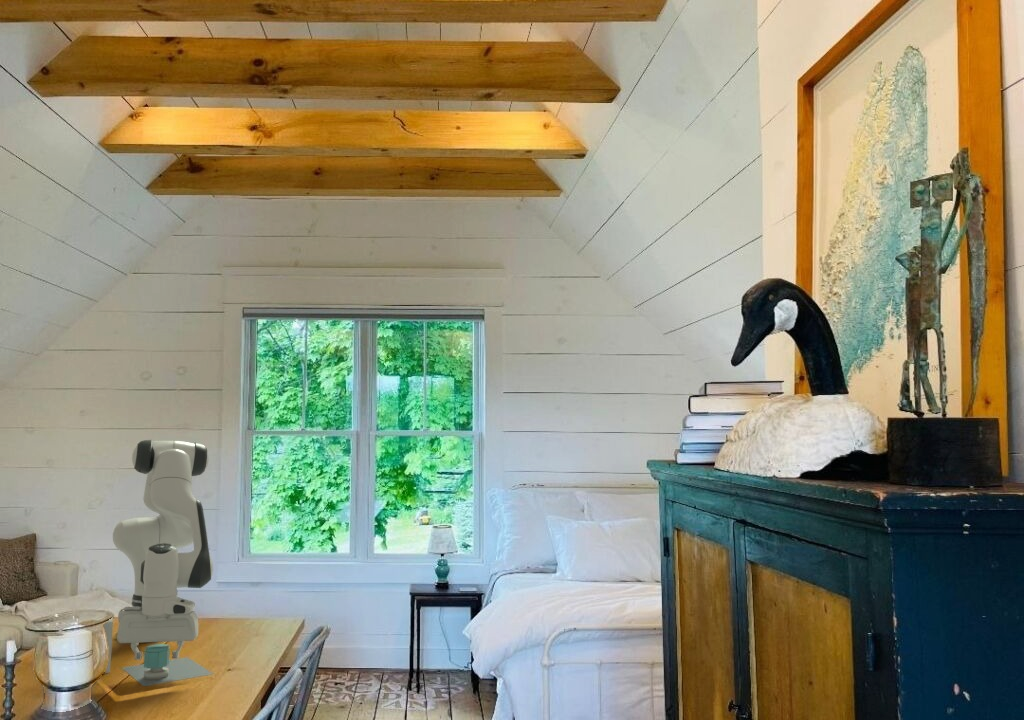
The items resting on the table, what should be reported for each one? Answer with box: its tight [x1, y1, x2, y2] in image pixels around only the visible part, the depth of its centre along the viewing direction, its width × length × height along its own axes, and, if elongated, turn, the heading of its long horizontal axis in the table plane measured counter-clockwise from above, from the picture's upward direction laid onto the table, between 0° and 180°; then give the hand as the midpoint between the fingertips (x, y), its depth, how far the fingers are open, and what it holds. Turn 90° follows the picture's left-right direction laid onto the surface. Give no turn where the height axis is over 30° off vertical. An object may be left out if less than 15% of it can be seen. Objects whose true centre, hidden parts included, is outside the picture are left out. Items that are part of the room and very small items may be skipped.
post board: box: [121, 656, 214, 691], centre depth 222 cm, size 22×18×8 cm
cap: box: [143, 643, 171, 668], centre depth 217 cm, size 6×6×5 cm
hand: (157, 658), depth 217 cm, fingers open, 8 cm apart
